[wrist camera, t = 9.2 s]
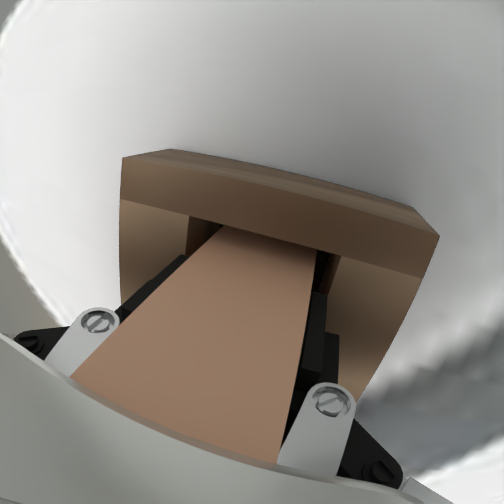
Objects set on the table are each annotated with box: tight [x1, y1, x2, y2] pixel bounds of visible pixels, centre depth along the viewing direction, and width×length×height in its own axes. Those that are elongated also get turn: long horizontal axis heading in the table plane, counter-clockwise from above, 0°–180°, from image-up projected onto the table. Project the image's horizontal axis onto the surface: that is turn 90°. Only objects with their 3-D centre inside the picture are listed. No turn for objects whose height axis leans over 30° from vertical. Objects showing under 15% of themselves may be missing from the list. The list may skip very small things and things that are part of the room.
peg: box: [70, 225, 317, 463], centre depth 9 cm, size 4×4×10 cm
